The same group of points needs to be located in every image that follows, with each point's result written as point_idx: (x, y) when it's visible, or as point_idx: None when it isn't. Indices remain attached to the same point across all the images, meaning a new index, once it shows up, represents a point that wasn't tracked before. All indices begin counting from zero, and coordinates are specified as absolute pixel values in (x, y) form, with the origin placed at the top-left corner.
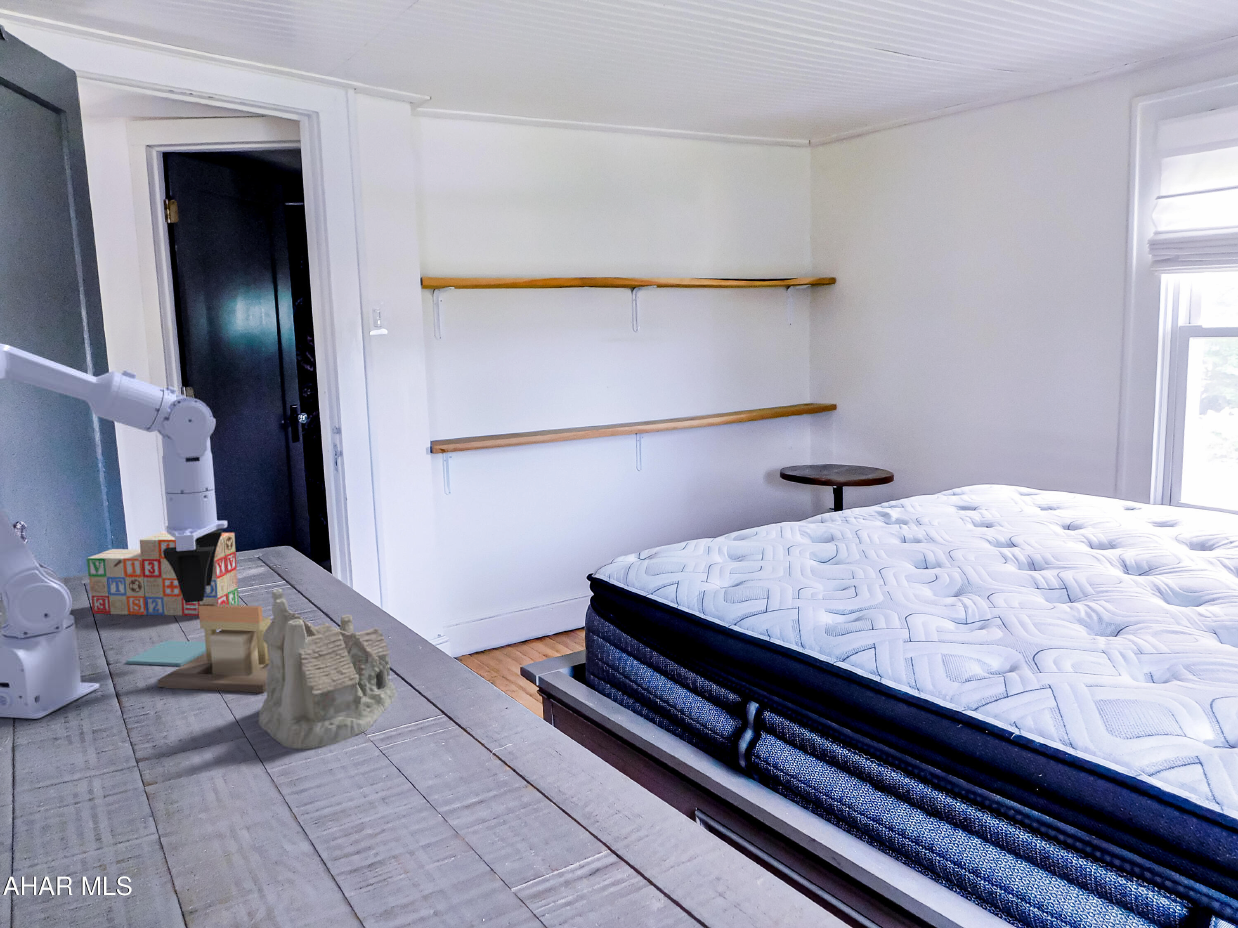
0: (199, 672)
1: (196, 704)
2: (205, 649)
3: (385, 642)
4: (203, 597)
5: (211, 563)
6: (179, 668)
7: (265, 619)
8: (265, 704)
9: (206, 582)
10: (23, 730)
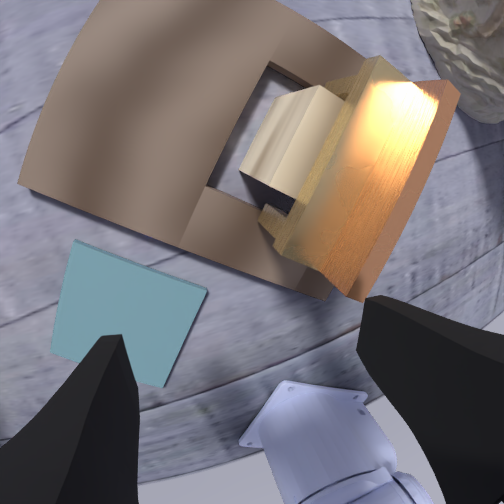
0: None
1: (414, 210)
2: (119, 260)
3: None
4: (389, 298)
5: (94, 407)
6: (276, 279)
7: (397, 72)
8: (499, 115)
9: (122, 357)
10: None
